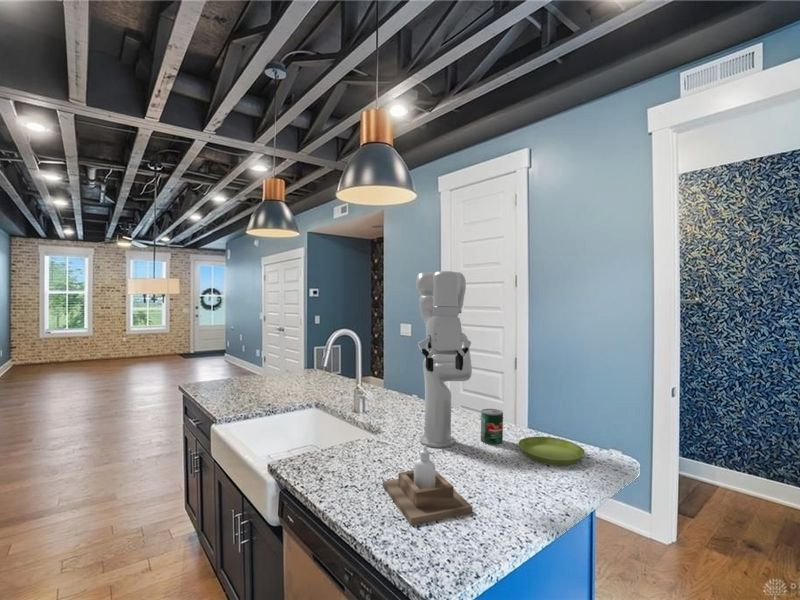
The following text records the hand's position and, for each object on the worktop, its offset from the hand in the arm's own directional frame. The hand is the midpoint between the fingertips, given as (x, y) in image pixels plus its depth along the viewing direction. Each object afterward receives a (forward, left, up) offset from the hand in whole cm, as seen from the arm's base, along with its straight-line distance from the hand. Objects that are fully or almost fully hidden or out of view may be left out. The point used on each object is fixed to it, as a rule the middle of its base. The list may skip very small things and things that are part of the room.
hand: (444, 370), depth 120 cm
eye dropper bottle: (+13, -12, -29) cm, 34 cm away
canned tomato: (-18, +29, -31) cm, 46 cm away
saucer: (0, +40, -31) cm, 50 cm away
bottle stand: (+13, -12, -30) cm, 35 cm away
